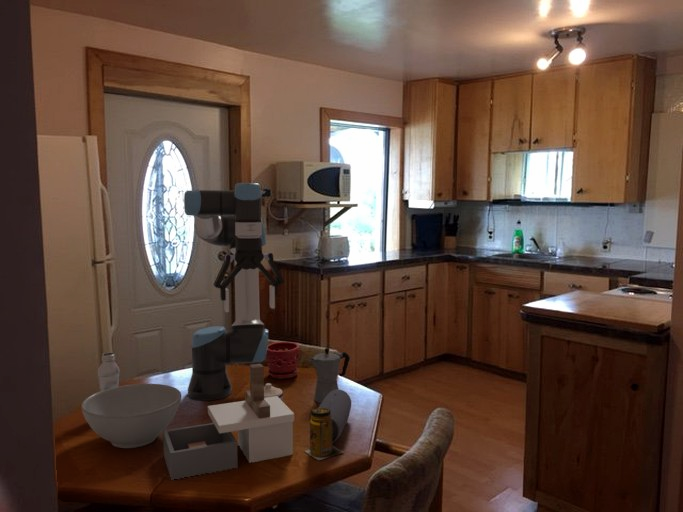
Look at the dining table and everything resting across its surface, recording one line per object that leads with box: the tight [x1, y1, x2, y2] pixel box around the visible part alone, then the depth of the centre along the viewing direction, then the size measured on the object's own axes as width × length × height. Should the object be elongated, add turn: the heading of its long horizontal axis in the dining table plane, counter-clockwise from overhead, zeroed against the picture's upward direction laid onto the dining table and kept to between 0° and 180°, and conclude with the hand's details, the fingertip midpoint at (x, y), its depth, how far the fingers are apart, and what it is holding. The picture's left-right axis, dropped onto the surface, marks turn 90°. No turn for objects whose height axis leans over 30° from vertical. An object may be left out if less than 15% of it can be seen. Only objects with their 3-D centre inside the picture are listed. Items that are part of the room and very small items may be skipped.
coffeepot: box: [308, 347, 351, 404], centre depth 197 cm, size 15×9×18 cm, turn 118°
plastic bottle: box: [97, 352, 120, 391], centre depth 182 cm, size 6×7×20 cm
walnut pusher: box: [244, 363, 270, 419], centre depth 155 cm, size 14×3×12 cm, turn 24°
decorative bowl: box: [81, 383, 182, 449], centre depth 164 cm, size 27×27×12 cm
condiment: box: [304, 407, 344, 461], centre depth 156 cm, size 7×8×12 cm
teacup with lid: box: [264, 382, 284, 401], centre depth 180 cm, size 12×9×12 cm
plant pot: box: [265, 341, 300, 380], centre depth 223 cm, size 13×13×12 cm
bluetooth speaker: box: [318, 388, 352, 445], centre depth 169 cm, size 23×9×10 cm, turn 171°
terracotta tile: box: [188, 441, 206, 449], centre depth 153 cm, size 4×4×2 cm
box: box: [162, 422, 239, 481], centre depth 151 cm, size 15×16×7 cm
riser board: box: [207, 396, 295, 464], centre depth 156 cm, size 15×20×12 cm
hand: (249, 309), depth 167 cm, fingers open, 13 cm apart
